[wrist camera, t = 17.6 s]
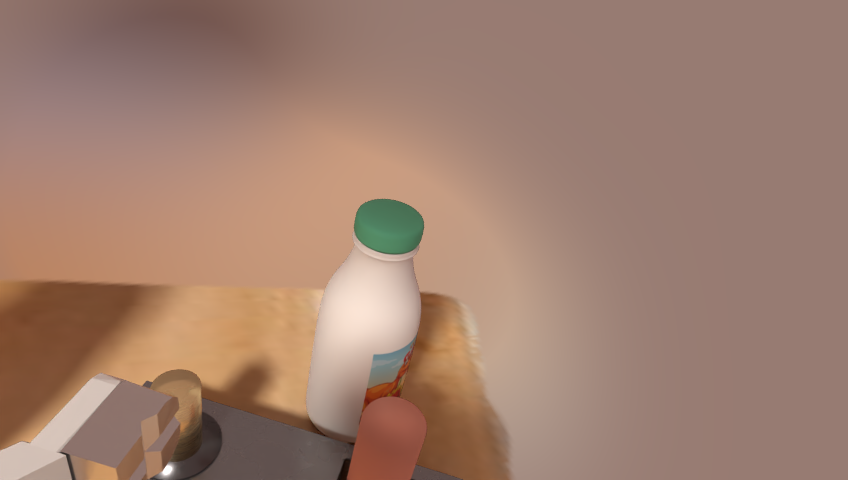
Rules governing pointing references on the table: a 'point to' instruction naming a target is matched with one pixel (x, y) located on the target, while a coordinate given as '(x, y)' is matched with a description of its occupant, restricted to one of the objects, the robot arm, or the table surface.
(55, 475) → the robot arm
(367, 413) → the red peg
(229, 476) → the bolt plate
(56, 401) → the table surface
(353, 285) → the milk bottle
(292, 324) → the table surface
